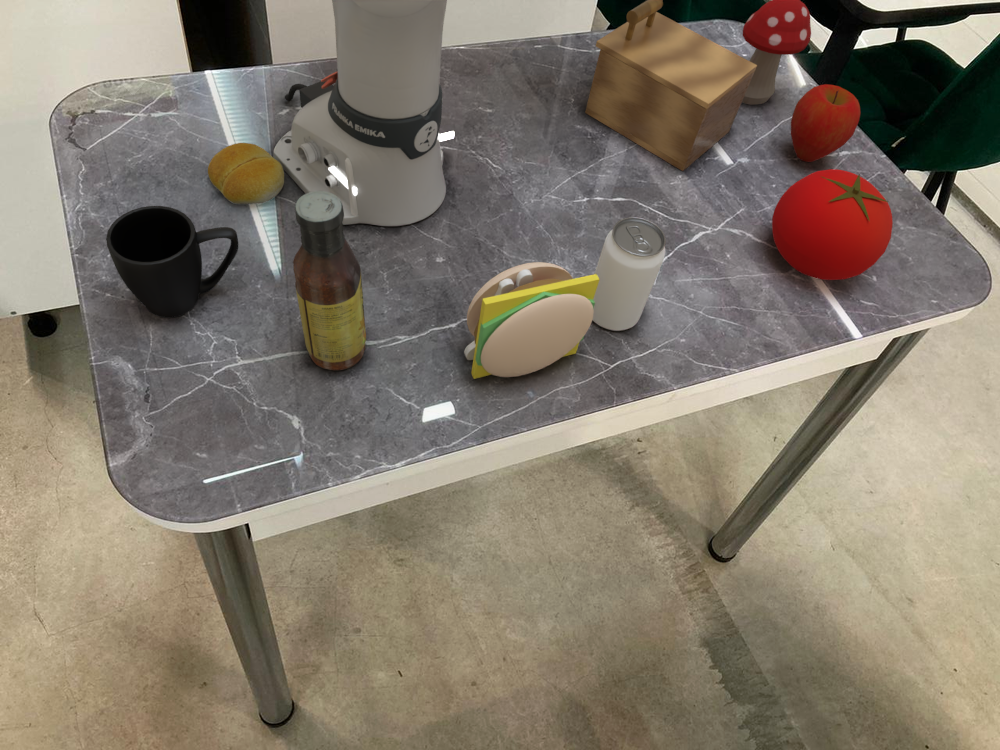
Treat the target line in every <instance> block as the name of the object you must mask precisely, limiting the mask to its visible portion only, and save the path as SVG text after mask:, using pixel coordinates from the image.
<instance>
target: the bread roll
mask: <svg viewBox="0 0 1000 750" xmlns="http://www.w3.org/2000/svg"><path fill="white" fill-rule="evenodd" d="M207 175H208V178H209V180H210V182H211V184H212V185H213V186H214V187H215V188H216V189H217V190H218V191H219V192H220V193H221V194H222V195H223V197H224V198H225V199H226V200H228V201H229V202H230V203H232V204H235V205H260V204H261V205H262V204H265V203H267V202H269V201H271V200H273V199H274V198H275V197H276V196H278V195H279V193H280V192H281V191H282V189H283V188H284V183H285V170H284V169H283V167H282V165H281V164H280V162H279V161H277V160H276V159H275V158H274V156H272V155H271V154H270V153H269V152H268V151H267V150H265V149H264V148H263V147H261V146H259V145H257V144H255V143H249V142H236V143H233V144H231V145H228V146H225V147H224V148H222V149H221V150H220V151H218V152H217V153H216V154H214V155H213V156H212V158H211V160H210V162H209V164H208V167H207Z"/></svg>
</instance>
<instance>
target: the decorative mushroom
mask: <svg viewBox="0 0 1000 750" xmlns="http://www.w3.org/2000/svg"><path fill="white" fill-rule="evenodd" d="M811 25H812V24H811V13H810V11H809V9H808V7H807V6H806V4H805V3H804V2H803V1H801V0H769V1H768V2H765V4H763V5H762V6H761V7H760V8H759V9H758V10H757V11H755V12H753V13H752V14H751V15H750V16H749V18H748V19H747V20H746V22H745V23H744V25H743V28H742V37H743V39H744V41H745V42H746V43H747V44H748V45H750V47H753V48H755V50H754V52H753V53H752V55H751V57H750V59H749V60H748V61H750V62H752V63H754V64H756V65H757V67H756V70H755V72H754V74H753V77H752V79H751V81H750V84H749V86H748V89H747V91H746V93H745V96H744V98H743V100H742V103H741V104H746V105H762V104H764V103H766V102H767V101H769V100H770V99H771V97H772V96H773V94H775V92H776V78H777V73H778V69H779V66H780V62H781V58H782V55H783V56H784V55H786V56H788V55H794V54H799V53H801V52H802V51H804V50H805V49H806V48H807V46H808V45H809V43H810V42H811V37H812V27H811Z"/></svg>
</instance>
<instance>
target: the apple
mask: <svg viewBox="0 0 1000 750" xmlns="http://www.w3.org/2000/svg"><path fill="white" fill-rule="evenodd" d="M860 118H861V106H860V101H859V99H857V97H856V96H855V95H854V94H853V93H851V92H850V91H849V90H847V89H845V88H843V87H841V86H839V85H834V84H827V83H825V84H820V85H816V86H813V87H812V88H810V89H809V90H808V91H806V92H805V93H804V94H803V95H802V97H801V98H800V99H799V100H798V101H797V102H796V104H795V107H794V110H793V114H792V115H791V120H790V136H791V142H792V147H793V150H794V153H795V155H796V158H797V159H799V160H800V161H802V162H805V163H812V162H813V163H814V162H815V161H817V160H821V159H822V158H825V157H827V156H829V155H830V154H832V153H834V152H836V151H837V150H838V149H840V148H842V147H843V146H844V145H846V143H847V142H848V141H849V140H850V139H851V138H852V137H853V136H854V133H855V131H856V129H857V127H858V125H859V122H860Z"/></svg>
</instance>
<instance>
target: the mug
mask: <svg viewBox="0 0 1000 750" xmlns="http://www.w3.org/2000/svg"><path fill="white" fill-rule="evenodd" d="M238 237H239V236H238V233H237V230H236V229H234V228H232V227H230V226H220V227H212V228H207V229H203V230H199V231H196V227H195V224H194V222H193V221H192V219H191V218H190V217H189V216H188V215H187V214H186V213H185V212H182V211H181V210H180V209H176V208H173V207H171V206H165V205H148V206H147V205H146V206H141V207H138V208H134V209H131V210H129V211H127V212H125V213H123V214H122V215H120V216H119V217H117V218H116V219H115V220H114V221H113V222H112V223H111V225H110V226H109V228H108V230H107V233H106V238H105V239H106V240H105V241H106V247H107V250H108V252H109V255H110V258H111V260H112V263H113V265H114V267H115V269H116V271H117V273H118V275H119V277H120V278H121V280H122V282H123V283H124V284H125V286H126V288H127V289H128V290H129V291H130V292H131V294H132V295H133V296H134V297H135V298H136V299H137V300H138V301H139V302H140V303H141V304H142V305H143V307H145V309H146V310H147V311H148V312H149V313H151V314H152V315H154V316H157V317H159V318H167V319H168V318H169V319H171V318H177V317H181V316H183V315H185V314H187V313H189V312H191V311H192V310H193V309H194V308H195V306H196V305H197V303H198V301H199V297H200V294H205V293H208V292H210V291H211V290H213V289H214V288H215V287H216V286H217V285H218V284H219V282H220V281H221V279H222V278H223V276H225V273H226V272H227V270H228V269H229V267H230V266H231V265H232V263H233V260H234V259H235V257H236V256H237V254H238V251H239V238H238ZM218 239H228V240H230V246H229V248H228V251H227V253H226V255H225V256H224V259H223V260H222V262H221V263H220V265H219V266H218V267H217V268H216V270H215V271H214V272H213V273H212V274H211V275H209V276H207V277H205V278H202V274H203V273H202V272H203V260H202V251H201V245H200V244H202V243H206V242H209V241H212V240H218Z"/></svg>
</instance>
